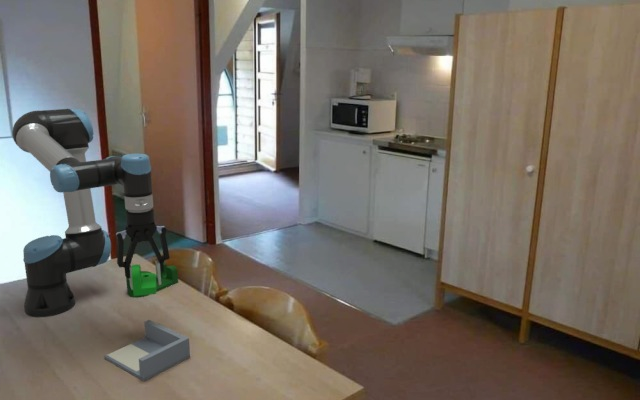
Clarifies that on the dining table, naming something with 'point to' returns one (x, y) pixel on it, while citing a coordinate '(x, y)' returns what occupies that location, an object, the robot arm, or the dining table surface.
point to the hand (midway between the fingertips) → (145, 285)
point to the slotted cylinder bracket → (167, 279)
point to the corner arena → (152, 352)
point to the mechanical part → (143, 282)
